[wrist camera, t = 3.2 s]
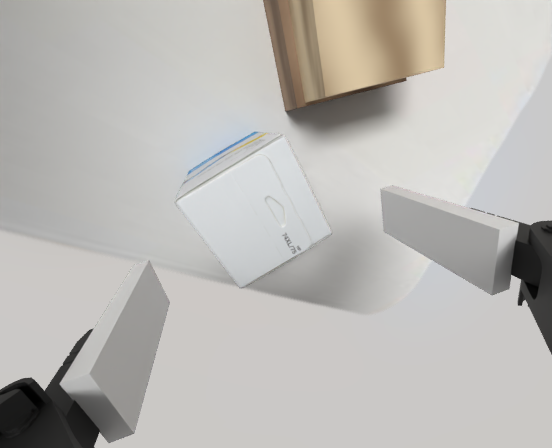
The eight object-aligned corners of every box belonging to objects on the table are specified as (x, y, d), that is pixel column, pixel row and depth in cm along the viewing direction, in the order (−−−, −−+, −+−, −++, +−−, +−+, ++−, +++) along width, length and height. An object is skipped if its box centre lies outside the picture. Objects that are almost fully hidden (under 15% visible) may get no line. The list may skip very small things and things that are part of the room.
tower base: (284, 111, 27) (297, 108, 23) (257, -21, 22) (267, -55, 18) (378, 87, 28) (406, 80, 24) (369, -41, 24) (402, -77, 20)
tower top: (305, 102, 23) (325, 96, 19) (280, -44, 19) (299, -92, 15) (404, 78, 24) (443, 67, 20) (400, -64, 20) (449, -114, 16)
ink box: (186, 171, 26) (168, 199, 16) (257, 129, 26) (287, 129, 16) (230, 235, 30) (240, 293, 19) (293, 197, 30) (337, 235, 19)
